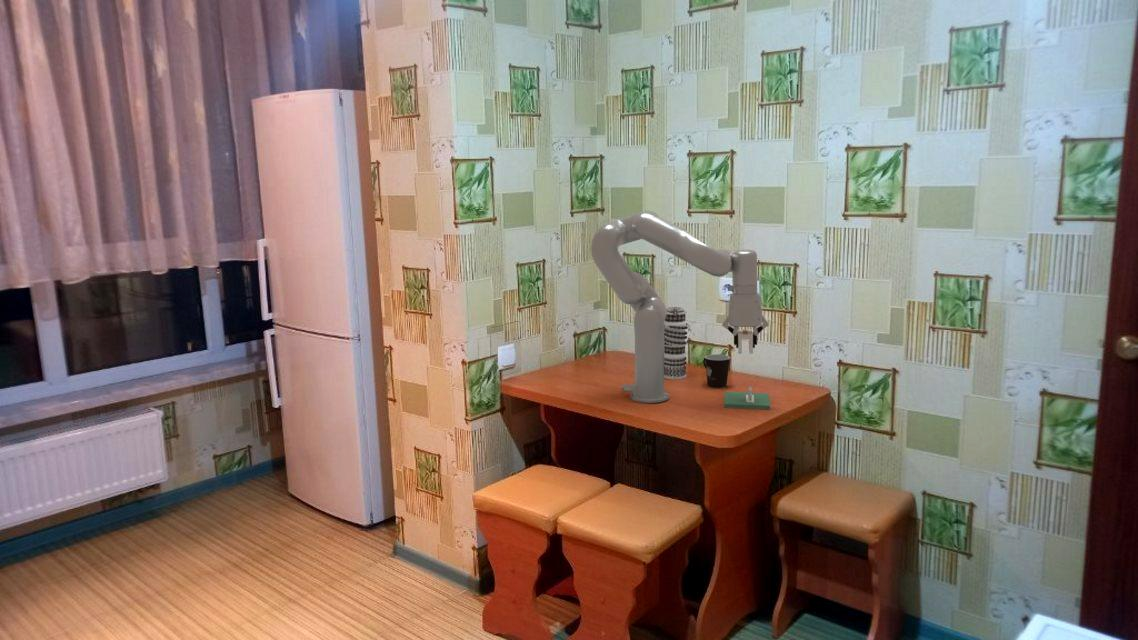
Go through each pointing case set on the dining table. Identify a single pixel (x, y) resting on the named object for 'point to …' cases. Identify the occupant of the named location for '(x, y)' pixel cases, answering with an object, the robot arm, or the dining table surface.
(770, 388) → the dining table surface
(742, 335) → the white box
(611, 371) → the dining table surface
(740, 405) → the board
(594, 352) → the dining table surface
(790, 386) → the dining table surface
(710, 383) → the coffee mug
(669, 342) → the decorative candle
